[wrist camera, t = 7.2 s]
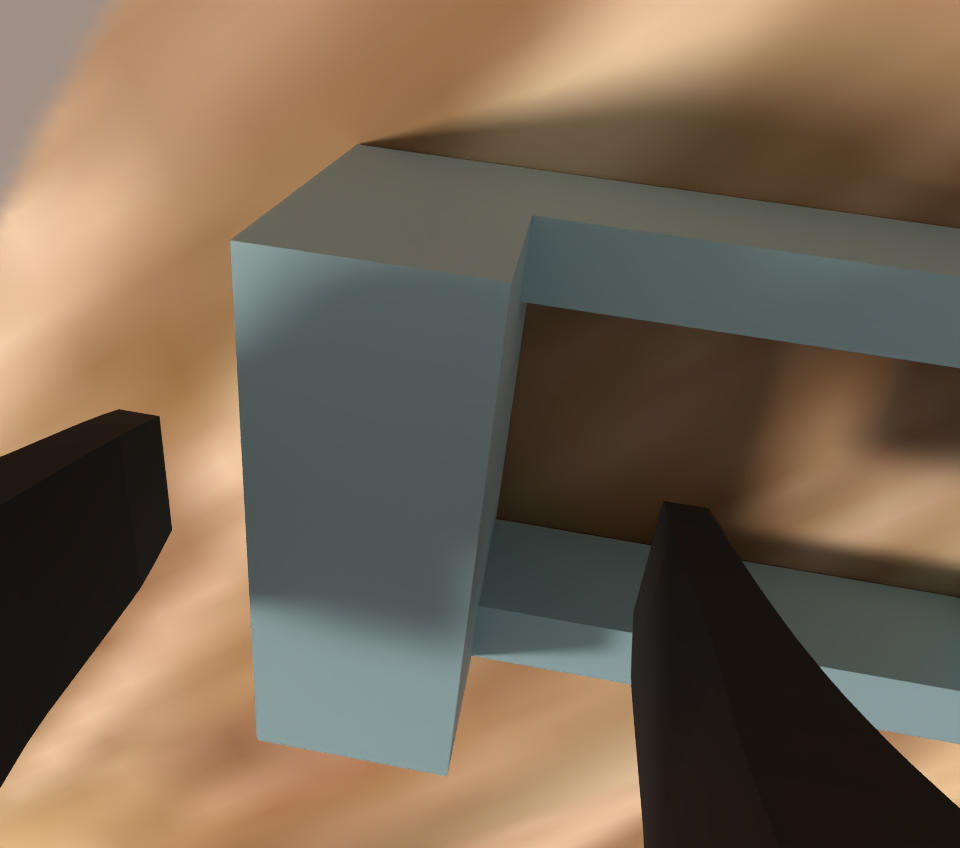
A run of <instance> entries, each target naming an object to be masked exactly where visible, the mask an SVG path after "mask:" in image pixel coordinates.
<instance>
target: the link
mask: <svg viewBox="0 0 960 848" xmlns="http://www.w3.org/2000/svg"><path fill="white" fill-rule="evenodd" d="M230 245H231V263H232V282H233V300H234V319H235V337H236V356H237V374H238V393H239V411H240V430H241V448H242V467H243V485H244V504H245V522H246V541H247V559H248V578H249V596H250V615H251V633H252V652H253V670H254V689H255V707H256V726H257V740H261V741H266V742H271V743H277V744H282V745H287V746H292V747H297V748H303V749H308V750H313V751H318V752H324V753H329V754H334V755H339V756H344V757H350V758H355V759H360V760H365V761H370V762H376V763H381V764H386V765H391V766H396V767H402V768H407V769H412V770H417V771H422V772H428V773H433V774H438V775H443V776H447V775H448V770H449V765H450V760H451V755H452V750H453V745H454V740H455V735H456V730H457V725H458V720H459V715H460V710H461V705H462V700H463V695H464V690H465V685H466V680H467V675H468V670H469V665H470V660H471V656H477V657H482V658H488V659H493V660H499V661H504V662H510V663H515V664H521V665H526V666H532V667H537V668H543V669H548V670H554V671H559V672H565V673H570V674H576V675H581V676H587V677H592V678H598V679H604V680H609V681H615V682H620V683H626V684H631V654H632V631H633V612H634V608H635V604H636V601H637V597H638V593H639V589H640V586H641V582H642V578H643V575H644V571H645V567H646V563H647V560H648V556H649V552H650V548H651V545H646V544H640V543H634V542H628V541H623V540H617V539H611V538H605V537H599V536H593V535H587V534H581V533H575V532H570V531H564V530H558V529H552V528H546V527H540V526H534V525H528V524H522V523H517V522H511V521H505V520H499V519H496V517H497V510H498V503H499V496H500V489H501V482H502V475H503V468H504V461H505V454H506V447H507V440H508V433H509V426H510V419H511V412H512V405H513V398H514V391H515V384H516V377H517V370H518V363H519V355H520V348H521V341H522V334H523V327H524V320H525V313H526V306H527V303H532V304H538V305H545V306H552V307H558V308H565V309H572V310H578V311H585V312H591V313H598V314H605V315H611V316H618V317H624V318H631V319H638V320H644V321H651V322H658V323H664V324H671V325H677V326H684V327H691V328H697V329H704V330H711V331H717V332H724V333H730V334H737V335H744V336H750V337H757V338H763V339H770V340H777V341H783V342H790V343H797V344H803V345H810V346H816V347H823V348H830V349H836V350H843V351H850V352H856V353H863V354H869V355H876V356H883V357H889V358H896V359H902V360H909V361H916V362H922V363H929V364H936V365H942V366H949V367H955V368H960V229H959V228H952V227H945V226H938V225H931V224H923V223H916V222H909V221H902V220H895V219H888V218H881V217H873V216H866V215H859V214H852V213H845V212H838V211H830V210H823V209H816V208H809V207H802V206H795V205H787V204H780V203H773V202H766V201H759V200H752V199H745V198H737V197H730V196H723V195H716V194H709V193H702V192H694V191H687V190H680V189H673V188H666V187H659V186H652V185H644V184H637V183H630V182H623V181H616V180H609V179H601V178H594V177H587V176H580V175H573V174H566V173H558V172H551V171H544V170H537V169H530V168H523V167H516V166H508V165H501V164H494V163H487V162H480V161H473V160H465V159H458V158H451V157H444V156H437V155H430V154H423V153H415V152H408V151H401V150H394V149H387V148H380V147H372V146H365V145H358V144H357V145H356V146H355V147H353V148H352V149H351V150H349V151H348V152H347V153H345V154H344V155H343V156H341V157H340V158H339V159H337V160H336V161H335V162H333V163H332V164H331V165H329V166H328V167H327V168H325V169H324V170H323V171H321V172H320V173H319V174H318V175H316V176H315V177H314V178H312V179H311V180H310V181H308V182H307V183H306V184H304V185H303V186H302V187H300V188H299V189H298V190H296V191H295V192H294V193H292V194H291V195H290V196H288V197H287V198H286V199H284V200H283V201H282V202H280V203H279V204H278V205H276V206H275V207H274V208H272V209H271V210H270V211H268V212H267V213H266V214H265V215H263V216H262V217H261V218H259V219H258V220H257V221H255V222H254V223H253V224H251V225H250V226H249V227H247V228H246V229H245V230H243V231H242V232H241V233H239V234H238V235H237V236H235V237H234V238H233V239H231V240H230ZM743 563H744V564H745V566H746V567H747V569H748V570H749V572H750V573H751V575H752V576H753V578H754V579H755V581H756V582H757V584H758V585H759V587H760V588H761V590H762V591H763V593H764V594H765V595H766V597H767V598H768V600H769V601H770V602H771V604H772V605H773V607H774V608H775V609H776V611H777V612H778V614H779V615H780V616H781V618H782V619H783V621H784V622H785V623H786V625H787V626H788V628H789V629H790V630H791V631H792V633H793V634H794V635H795V637H796V638H797V639H798V640H799V642H800V643H801V644H802V645H803V647H804V648H805V649H806V650H807V652H808V653H809V654H810V655H811V657H812V658H813V659H814V660H815V661H816V663H817V664H818V665H819V666H820V668H821V669H822V670H823V671H824V673H825V674H826V675H827V676H828V677H829V678H830V680H831V681H832V682H833V683H834V684H835V685H836V686H837V687H838V689H839V690H840V691H841V692H842V693H843V694H844V695H845V697H846V698H847V699H848V700H849V701H850V702H851V703H852V704H853V705H854V706H855V707H856V708H857V709H858V710H859V711H860V712H861V713H862V715H863V716H864V717H865V718H866V719H867V720H868V721H869V722H870V723H871V724H872V725H873V726H874V727H875V728H876V729H879V730H884V731H890V732H895V733H901V734H906V735H912V736H917V737H923V738H928V739H934V740H939V741H945V742H950V743H956V744H960V598H958V597H952V596H947V595H941V594H935V593H929V592H923V591H917V590H911V589H905V588H899V587H894V586H888V585H882V584H876V583H870V582H864V581H858V580H852V579H846V578H841V577H835V576H829V575H823V574H817V573H811V572H805V571H799V570H793V569H788V568H782V567H776V566H770V565H764V564H758V563H752V562H746V561H743Z"/></svg>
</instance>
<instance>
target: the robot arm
mask: <svg viewBox="0 0 960 848" xmlns="http://www.w3.org/2000/svg"><path fill="white" fill-rule="evenodd" d="M171 531H172V525H171V516H170V507H169V498H168V489H167V480H166V471H165V462H164V453H163V444H162V435H161V426H160V417H159V416H155V415H149V414H143V413H137V412H131V411H125V410H120V409H119V410H116V411H113V412H109V413H106V414H103V415H101V416H98V417H95V418H93V419H90V420H88V421H85V422H82V423H80V424H78V425H75V426H73V427H70V428H68V429H65V430H63V431H61V432H58V433H56V434H54V435H51V436H49V437H47V438H44V439H42V440H40V441H37V442H35V443H32V444H30V445H28V446H25V447H23V448H21V449H18V450H16V451H14V452H11V453H9V454H6V455H4V456H2V457H0V787H1V786H2V784H3V782H4V781H5V779H6V777H7V776H8V774H9V772H10V771H11V769H12V767H13V766H14V764H15V762H16V761H17V759H18V757H19V756H20V754H21V752H22V751H23V749H24V747H25V746H26V744H27V743H28V741H29V740H30V738H31V737H32V735H33V734H34V732H35V731H36V729H37V728H38V726H39V725H40V724H41V722H42V721H43V719H44V718H45V716H46V715H47V713H48V712H49V711H50V709H51V708H52V707H53V705H54V704H55V703H56V701H57V700H58V699H59V697H60V696H61V695H62V693H63V692H64V691H65V689H66V688H67V687H68V685H69V684H70V683H71V681H72V680H73V679H74V677H75V676H76V675H77V673H78V672H79V671H80V669H81V668H82V667H83V665H84V664H85V663H86V661H87V660H88V659H89V657H90V656H91V655H92V653H93V652H94V651H95V649H96V648H97V647H98V645H99V644H100V643H101V641H102V640H103V639H104V637H105V636H106V635H107V633H108V632H109V631H110V629H111V628H112V627H113V625H114V624H115V622H116V621H117V620H118V618H119V617H120V616H121V614H122V613H123V612H124V610H125V609H126V607H127V606H128V605H129V603H130V602H131V601H132V599H133V598H134V596H135V595H136V594H137V592H138V591H139V589H140V588H141V586H142V585H143V583H144V581H145V579H146V578H147V576H148V574H149V572H150V570H151V569H152V567H153V565H154V563H155V562H156V560H157V558H158V556H159V554H160V552H161V550H162V548H163V546H164V544H165V542H166V540H167V539H168V537H169V535H170V533H171ZM631 688H632V701H633V714H634V726H635V738H636V750H637V762H638V774H639V785H640V797H641V809H642V821H643V834H644V848H960V808H959V807H958V806H957V805H956V804H954V803H953V802H952V801H951V800H950V799H949V798H948V797H947V796H946V795H945V794H944V793H942V792H941V791H940V790H939V789H938V788H937V787H936V786H935V785H934V784H933V783H932V782H930V781H929V780H928V779H927V778H926V777H925V776H924V775H923V774H922V773H921V772H920V771H918V770H917V769H916V768H915V767H914V766H913V765H912V764H911V763H910V762H909V761H908V760H907V759H906V758H905V757H904V756H903V755H902V754H901V753H899V752H898V751H897V750H896V749H895V748H894V747H893V746H892V745H891V744H890V743H889V742H888V741H887V740H886V739H885V738H884V737H883V736H882V735H881V734H880V733H879V731H878V730H877V729H876V728H875V727H874V726H873V725H872V724H871V723H870V722H869V721H868V720H867V719H866V718H865V717H864V716H863V715H862V713H861V712H860V711H859V710H858V709H857V708H856V707H855V706H854V705H853V704H852V703H851V702H850V701H849V700H848V699H847V698H846V697H845V695H844V694H843V693H842V692H841V691H840V690H839V689H838V687H837V686H836V685H835V684H834V683H833V682H832V681H831V680H830V678H829V677H828V676H827V675H826V674H825V673H824V671H823V670H822V669H821V668H820V666H819V665H818V664H817V663H816V661H815V660H814V659H813V658H812V657H811V655H810V654H809V653H808V652H807V650H806V649H805V648H804V647H803V645H802V644H801V643H800V642H799V640H798V639H797V638H796V637H795V635H794V634H793V633H792V631H791V630H790V629H789V628H788V626H787V625H786V623H785V622H784V621H783V619H782V618H781V616H780V615H779V614H778V612H777V611H776V609H775V608H774V607H773V605H772V604H771V602H770V601H769V600H768V598H767V597H766V595H765V594H764V593H763V591H762V590H761V588H760V587H759V585H758V584H757V582H756V581H755V579H754V578H753V576H752V575H751V573H750V572H749V570H748V569H747V567H746V566H745V564H744V563H743V561H742V560H741V558H740V557H739V555H738V554H737V552H736V550H735V549H734V547H733V546H732V544H731V543H730V541H729V540H728V538H727V536H726V535H725V533H724V532H723V530H722V529H721V527H720V525H719V524H718V522H717V521H716V519H715V518H714V516H713V515H712V513H711V512H710V510H709V509H708V508H702V507H696V506H690V505H684V504H678V503H672V502H667V501H663V504H662V508H661V511H660V515H659V519H658V522H657V526H656V530H655V534H654V537H653V541H652V545H651V548H650V552H649V556H648V560H647V563H646V567H645V571H644V575H643V578H642V582H641V586H640V589H639V593H638V597H637V601H636V604H635V608H634V612H633V631H632V654H631Z"/></svg>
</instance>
